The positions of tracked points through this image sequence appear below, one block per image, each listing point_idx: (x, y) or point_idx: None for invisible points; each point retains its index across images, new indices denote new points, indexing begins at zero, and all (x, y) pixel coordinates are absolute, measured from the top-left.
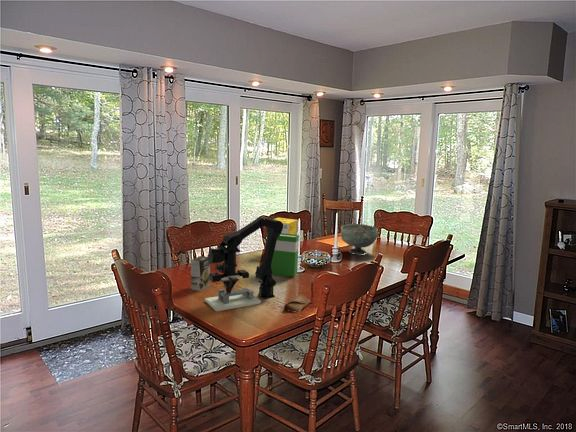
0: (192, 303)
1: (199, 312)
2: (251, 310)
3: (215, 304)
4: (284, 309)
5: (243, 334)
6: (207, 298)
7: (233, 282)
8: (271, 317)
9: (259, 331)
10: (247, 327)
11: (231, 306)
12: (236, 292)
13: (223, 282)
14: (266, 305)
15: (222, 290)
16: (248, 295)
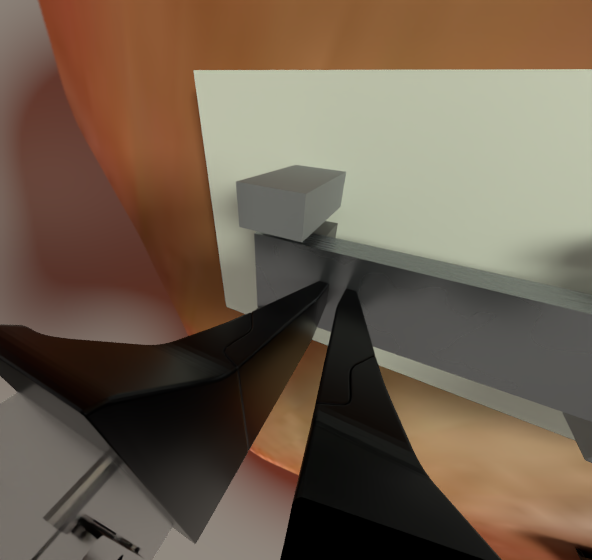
0: (129, 77)
1: (168, 251)
2: (407, 413)
3: (236, 260)
4: (579, 556)
5: (258, 443)
6: (210, 90)
7: (301, 535)
8: None
9: None
10: (286, 442)
11: (317, 337)
12: (428, 354)
13: (179, 352)
14: (587, 464)
15: (278, 234)
16: None
